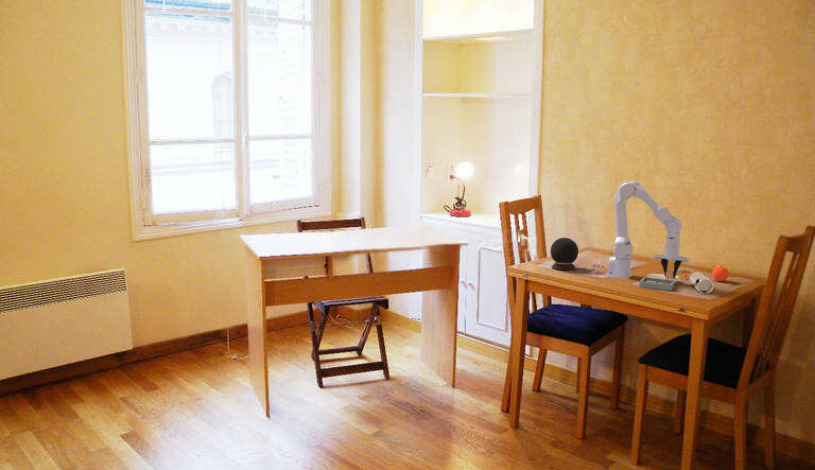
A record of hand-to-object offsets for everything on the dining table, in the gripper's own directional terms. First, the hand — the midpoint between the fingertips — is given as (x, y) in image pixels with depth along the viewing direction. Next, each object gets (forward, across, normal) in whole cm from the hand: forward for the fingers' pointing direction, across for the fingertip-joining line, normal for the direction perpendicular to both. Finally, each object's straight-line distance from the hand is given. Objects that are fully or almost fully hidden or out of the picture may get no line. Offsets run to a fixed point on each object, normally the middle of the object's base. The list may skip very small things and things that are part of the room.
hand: (670, 276), depth 334 cm
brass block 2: (+3, -1, -10) cm, 11 cm away
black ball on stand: (+3, -50, +4) cm, 50 cm away
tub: (+3, -4, -10) cm, 11 cm away
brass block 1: (+3, -6, -10) cm, 12 cm away
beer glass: (0, +11, +3) cm, 11 cm away
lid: (+2, -3, 0) cm, 4 cm away
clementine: (+3, +18, +16) cm, 25 cm away
